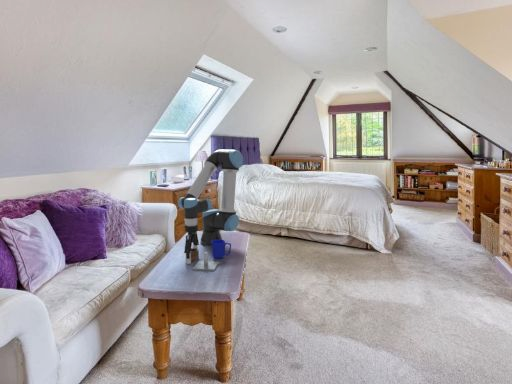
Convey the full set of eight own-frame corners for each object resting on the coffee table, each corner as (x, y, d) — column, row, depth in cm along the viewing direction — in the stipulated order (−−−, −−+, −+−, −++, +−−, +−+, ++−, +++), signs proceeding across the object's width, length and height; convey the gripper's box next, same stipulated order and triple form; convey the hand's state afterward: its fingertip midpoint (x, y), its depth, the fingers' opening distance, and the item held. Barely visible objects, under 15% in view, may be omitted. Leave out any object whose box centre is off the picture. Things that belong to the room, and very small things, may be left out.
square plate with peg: (198, 262, 190) (198, 249, 188) (218, 263, 188) (218, 249, 187) (192, 270, 178) (192, 256, 177) (214, 271, 176) (213, 257, 175)
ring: (188, 257, 198) (188, 248, 197) (199, 257, 197) (199, 248, 196) (184, 261, 191) (184, 251, 190) (196, 262, 190) (196, 252, 189)
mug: (229, 260, 193) (229, 244, 191) (209, 259, 195) (209, 243, 194) (232, 255, 201) (232, 240, 199) (214, 254, 203) (213, 239, 202)
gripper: (191, 219, 203) (192, 252, 206) (177, 229, 179) (178, 266, 182) (203, 220, 203) (203, 252, 206) (191, 230, 178) (192, 267, 181)
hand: (192, 259), depth 194 cm, fingers open, 13 cm apart
